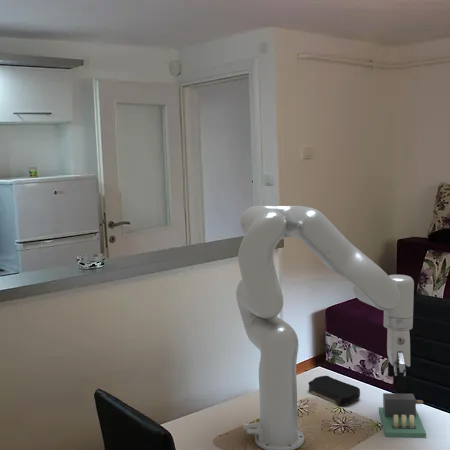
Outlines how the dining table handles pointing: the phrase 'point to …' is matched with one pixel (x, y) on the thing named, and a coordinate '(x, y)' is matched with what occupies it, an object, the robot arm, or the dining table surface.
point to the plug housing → (399, 404)
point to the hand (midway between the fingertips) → (396, 382)
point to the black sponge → (334, 390)
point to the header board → (402, 425)
